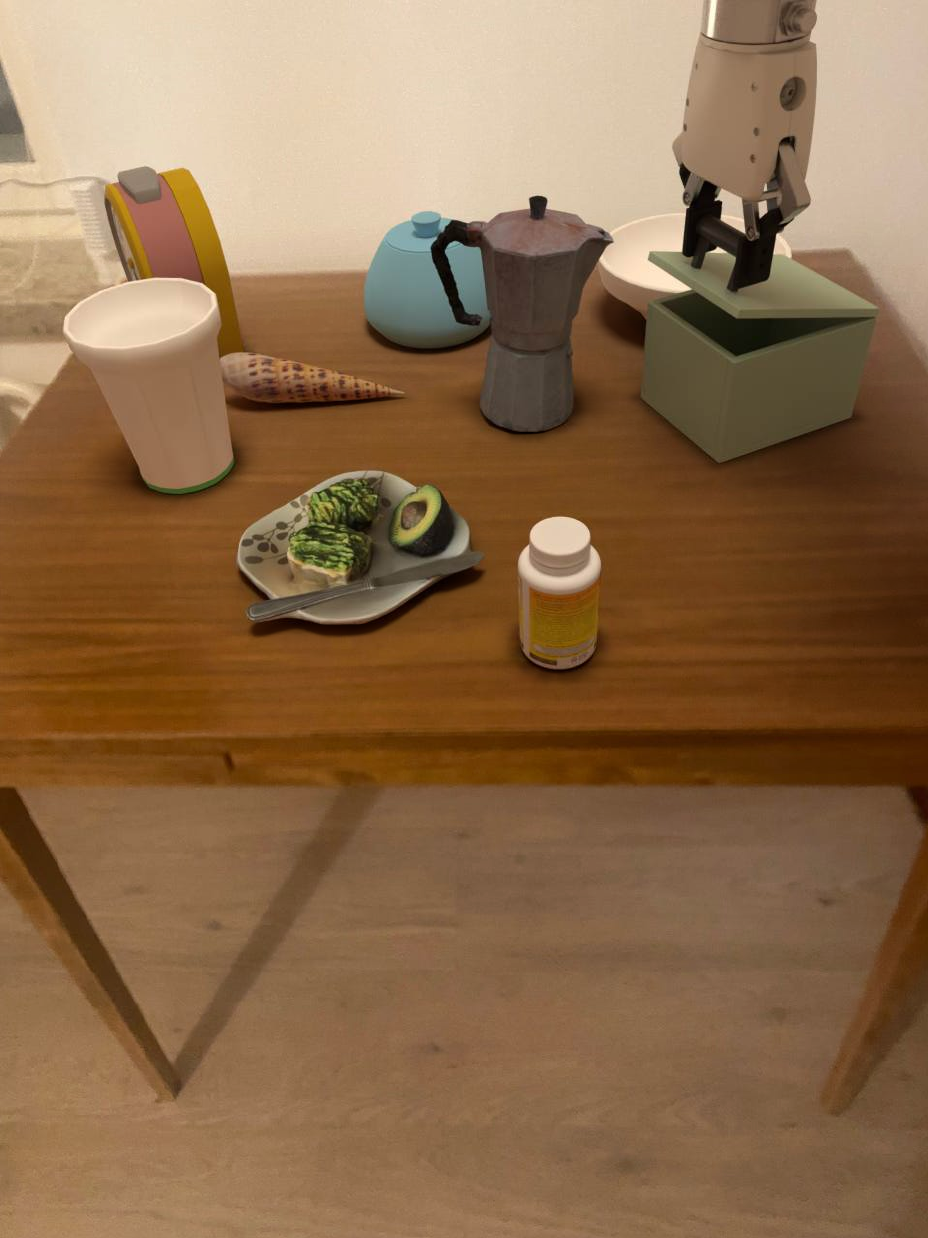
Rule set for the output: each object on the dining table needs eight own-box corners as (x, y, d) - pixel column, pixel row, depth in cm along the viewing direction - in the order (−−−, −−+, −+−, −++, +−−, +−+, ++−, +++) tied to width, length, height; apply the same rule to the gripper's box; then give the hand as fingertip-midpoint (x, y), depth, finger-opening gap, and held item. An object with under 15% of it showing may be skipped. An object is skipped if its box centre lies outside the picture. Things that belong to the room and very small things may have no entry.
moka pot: (609, 435, 89) (621, 215, 75) (441, 441, 89) (423, 225, 76) (600, 381, 96) (609, 170, 82) (444, 387, 96) (428, 180, 82)
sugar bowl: (422, 279, 114) (413, 178, 106) (529, 308, 107) (527, 202, 99) (338, 333, 106) (322, 227, 98) (448, 368, 99) (440, 257, 91)
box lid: (736, 318, 75) (759, 253, 72) (647, 259, 83) (664, 199, 80) (876, 317, 82) (902, 257, 79) (780, 262, 90) (800, 207, 87)
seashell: (231, 389, 98) (220, 344, 95) (408, 388, 97) (403, 342, 93) (220, 413, 95) (208, 367, 92) (403, 412, 93) (397, 365, 90)
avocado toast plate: (317, 690, 68) (306, 644, 65) (184, 575, 78) (169, 530, 75) (511, 559, 77) (510, 513, 74) (370, 470, 87) (363, 426, 84)
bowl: (700, 381, 94) (708, 312, 89) (557, 317, 106) (558, 253, 101) (817, 311, 103) (831, 245, 98) (674, 259, 114) (680, 197, 109)
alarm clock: (140, 327, 110) (87, 157, 97) (210, 308, 112) (167, 139, 99) (174, 385, 100) (119, 204, 87) (250, 363, 102) (207, 184, 89)
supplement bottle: (611, 656, 69) (620, 544, 62) (543, 684, 67) (543, 573, 60) (571, 608, 72) (575, 498, 65) (506, 634, 71) (502, 524, 64)
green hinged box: (718, 463, 85) (734, 362, 78) (640, 397, 93) (647, 301, 86) (851, 417, 88) (877, 317, 82) (764, 358, 97) (781, 263, 90)
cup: (92, 495, 86) (28, 338, 76) (168, 421, 95) (120, 270, 84) (212, 519, 83) (163, 357, 72) (280, 440, 91) (245, 284, 81)
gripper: (890, 31, 62) (832, 296, 75) (725, -15, 74) (699, 222, 86) (796, 51, 60) (753, 321, 73) (642, 1, 72) (627, 241, 84)
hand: (724, 265), depth 79 cm, fingers closed on box lid, 6 cm apart
